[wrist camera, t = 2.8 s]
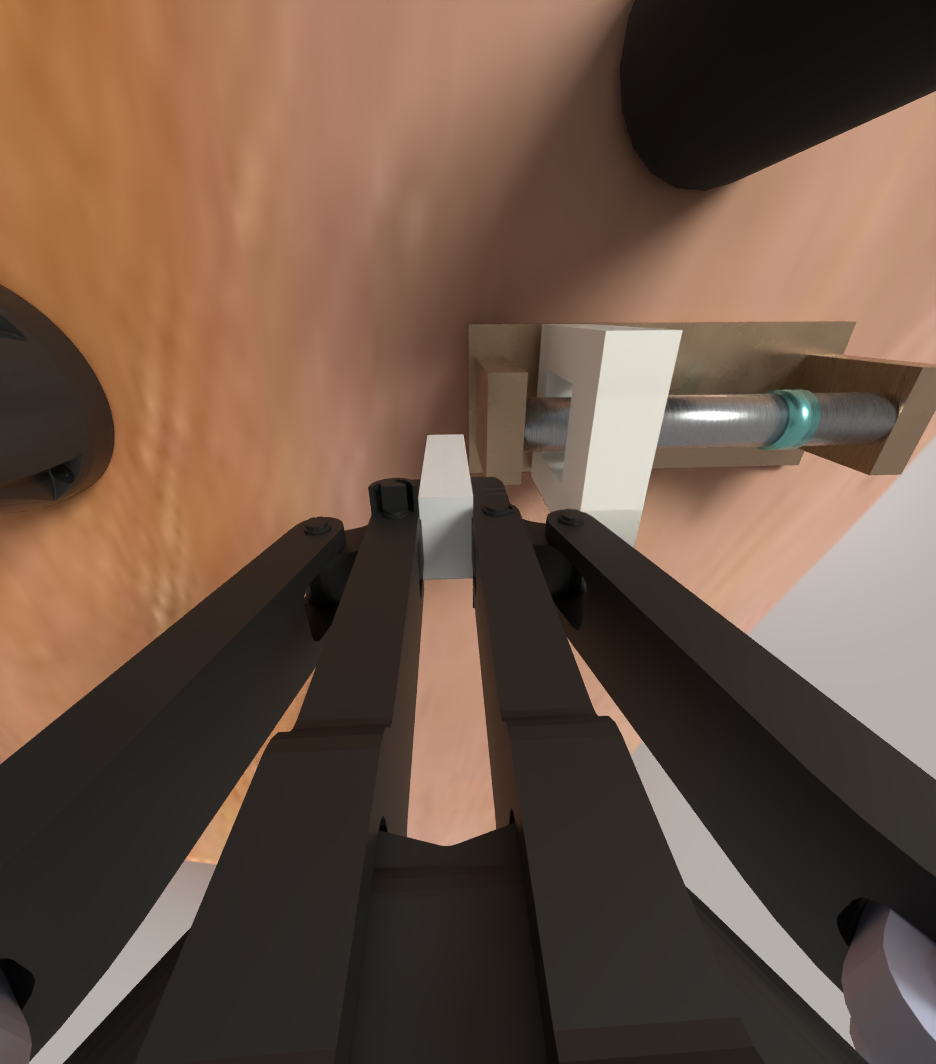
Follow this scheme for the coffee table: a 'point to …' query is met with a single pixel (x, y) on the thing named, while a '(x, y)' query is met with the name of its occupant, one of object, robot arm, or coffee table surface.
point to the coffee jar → (764, 78)
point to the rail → (715, 399)
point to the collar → (605, 418)
